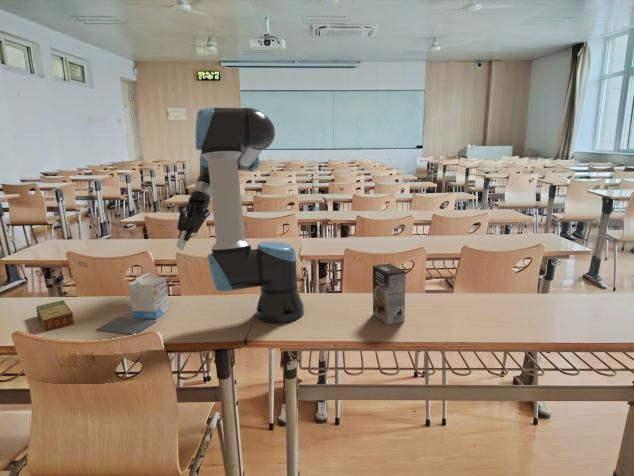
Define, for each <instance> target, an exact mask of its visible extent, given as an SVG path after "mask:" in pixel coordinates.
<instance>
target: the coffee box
mask: <svg viewBox="0 0 634 476" xmlns="http://www.w3.org/2000/svg"><path fill="white" fill-rule="evenodd" d="M406 273H407V271H406V270H404V269H402V268H400V267H398V266H395V265H393V264H392V263H386V264H385V263H384V264H383V263H382V264H376V265H372V314H373V316H375V317H376V318H377V319H379V320H380V321H381V322H383V323H384V324H386V325H387V326H389V325H394V324H398V323H403V322H405V315H406V314H405V313H406V312H405V311H406V309H405V308H406V307H405V306H406V275H407V274H406Z"/></svg>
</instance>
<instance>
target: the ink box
mask: <svg viewBox="0 0 634 476" xmlns="http://www.w3.org/2000/svg"><path fill="white" fill-rule="evenodd" d="M166 278H167V277H166V276H155V275H154V274H152V272H149V271H148V272H147V273H144V274H142V275H140V276H137V277H136V278H135V280H134V281H132V282H130V283H128V290H129V297H130V303H131V304H130V305H131V312H132V318H134V319H142V320H157V319H158V318H160V317H161V316H162V315H163V314H165V313H167V312H168V311H169V310H170V303H169V297H168V289H167V279H166Z"/></svg>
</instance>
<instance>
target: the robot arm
mask: <svg viewBox="0 0 634 476" xmlns="http://www.w3.org/2000/svg"><path fill="white" fill-rule="evenodd" d="M195 120H196V121H195V149H196V150H198V151H200V157H199V162H200V163H199V175H198V178H197V181H196V182H195V185H194V187H193V189H192V190H191V191H192V192H191V194H190V197H189V198H188V204H187V205H186V206H185V208H182V207H181V208H179V209H178V210H179V216H178V221H177V227H176V229H177V230H178V231H179V235H178V237H177V242H176V248H178V249H179V250H180V251H181V250H182V251H183V250H184V249H185V246H186V244H187V242H189V240H190V238H191V237H192V234H197V233H198V232H199V230H200V228H201V227H202V226H203V224H204V222H205V221H206V219H208V217H209V216H210V215H211V214H212V213H213V214H212V216H213V223H214V232H215V243H213V244H214V245H212V246H211V253H209V254H207V256H206V257H207V263H208V268H209V272H210V275H211V279H212V283H213V286H214V287H215V289H216V290H217V291H218V292H230V291H231V292H233V291H237V290H244V289H251V288H259V287H260V295H259V298H258V302H257V306H256V318H258V320H260V321H262V322H265V323H269V324H270V323H271V324H285V323H289V322H290V323H291V322H294V321H295V320H298V319H300V318H301V317H303V316H304V313H305V309H304V308H305V307H304V303H303V300H302V298H301V295H300V293H299V290H298V278H297V277H298V276H297V274H298V273H297V270H298V269H297V261H298V259H297V255H296V249H295V247H294V246H293V245H291V244H288V243H286V242H281V241H279V242H278V241H264V242H259V243H258V244H257V246H256V247H257V248H254V249H252V245H251V243H250V242H249V241H248V240H246V238H245V237H246V235H245V227H244V225H245V224H244V216H243V215H244V214H243V207H242V206H243V205H242V195H241V185H240V184H241V183H240V175H239V171H252V170H253V171H254V170H257V169H258V168H259V166H260V165H259V164H260V159H259V157H260V155H261V153H262V152H263V151H264V150H267V148H269V147H270V146H271V144H272V143H273V142H274V139H275V135H276V131H275V127H274V124H273V122H272V120H271V119H270V118H269V117H268V115H266V114H265V113H264V112H262V111H260V110H258V109H257V108H253V107H209V108H201V109H199V110H198V111H197V114H196V119H195ZM210 202H211V204H212V206H211V207H212V213H211V212H210V210H209V209H208V206H209V205H210Z"/></svg>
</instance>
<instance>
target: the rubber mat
mask: <svg viewBox="0 0 634 476" xmlns="http://www.w3.org/2000/svg"><path fill="white" fill-rule="evenodd" d="M155 323H156V320H152V319H140V318H133V317H132V318H131V317H124V316H118V317H117V318H115V319H112V320H111V321H109V322H107V323H104V325H101V326H100V327H98V328H96V330H97V331H101V332H102V331H103V332H107V333H108V332H109V333H117V334H122V335H123V334H124V335H130V334H134V333H137V334H139V333H141V332H143V331H144V330H146V329H147V328H149V327H150V326H152V325H153V324H155ZM138 332H139V333H138Z"/></svg>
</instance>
